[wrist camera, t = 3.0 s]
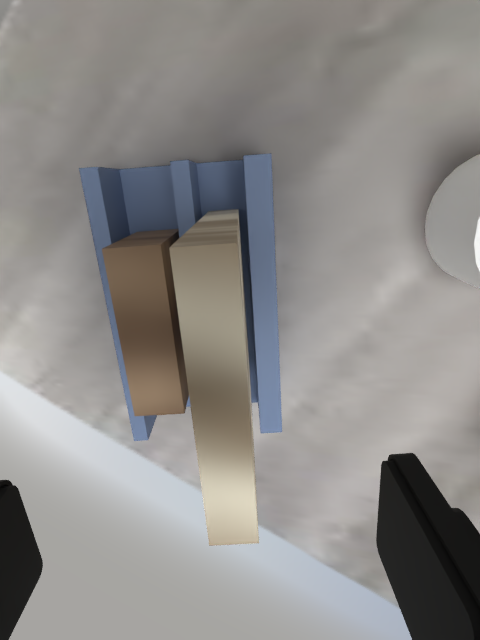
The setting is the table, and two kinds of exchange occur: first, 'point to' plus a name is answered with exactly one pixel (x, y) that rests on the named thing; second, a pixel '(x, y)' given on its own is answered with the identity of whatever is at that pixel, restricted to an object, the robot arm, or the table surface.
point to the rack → (182, 213)
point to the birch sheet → (218, 372)
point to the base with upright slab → (457, 223)
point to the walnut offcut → (148, 321)
